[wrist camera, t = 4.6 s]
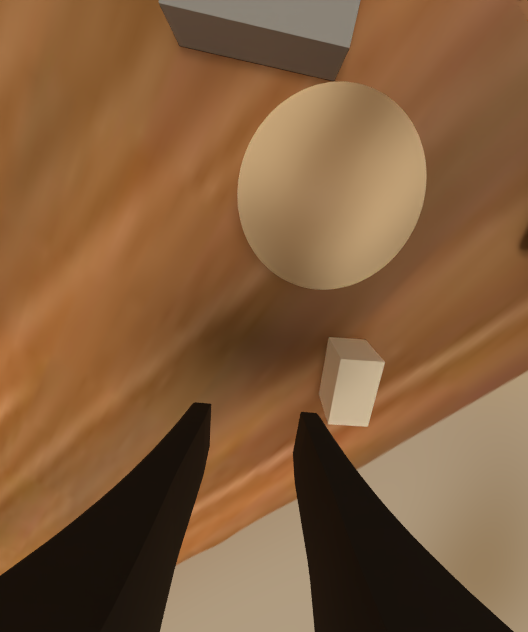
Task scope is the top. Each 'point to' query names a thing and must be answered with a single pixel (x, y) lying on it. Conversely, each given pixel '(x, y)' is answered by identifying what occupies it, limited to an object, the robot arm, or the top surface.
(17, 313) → the top surface
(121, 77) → the top surface
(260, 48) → the board with rectangular hole
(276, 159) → the bobbin
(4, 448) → the top surface
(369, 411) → the rectangular block
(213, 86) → the top surface
